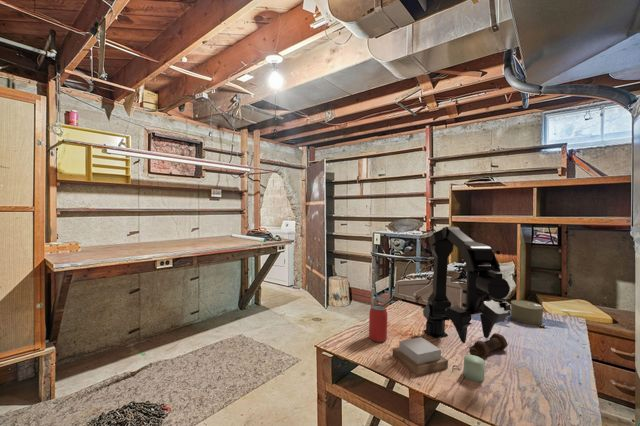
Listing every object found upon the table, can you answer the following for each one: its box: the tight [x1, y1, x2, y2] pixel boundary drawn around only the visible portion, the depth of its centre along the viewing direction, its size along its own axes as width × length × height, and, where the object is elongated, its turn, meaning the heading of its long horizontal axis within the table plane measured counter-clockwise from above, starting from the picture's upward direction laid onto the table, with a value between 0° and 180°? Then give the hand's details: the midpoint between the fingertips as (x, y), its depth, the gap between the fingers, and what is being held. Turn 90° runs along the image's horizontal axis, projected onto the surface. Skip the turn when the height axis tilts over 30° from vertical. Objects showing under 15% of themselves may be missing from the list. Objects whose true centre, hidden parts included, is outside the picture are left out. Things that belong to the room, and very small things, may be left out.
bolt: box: [468, 332, 508, 357], centre depth 101 cm, size 6×5×15 cm
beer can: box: [368, 304, 388, 343], centre depth 109 cm, size 7×7×12 cm
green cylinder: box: [463, 354, 486, 383], centre depth 87 cm, size 6×6×5 cm
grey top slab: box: [398, 336, 442, 364], centre depth 94 cm, size 9×9×3 cm
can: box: [510, 299, 544, 325], centre depth 131 cm, size 12×12×7 cm
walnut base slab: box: [391, 346, 449, 376], centre depth 94 cm, size 12×12×3 cm
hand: (474, 340), depth 86 cm, fingers open, 9 cm apart
